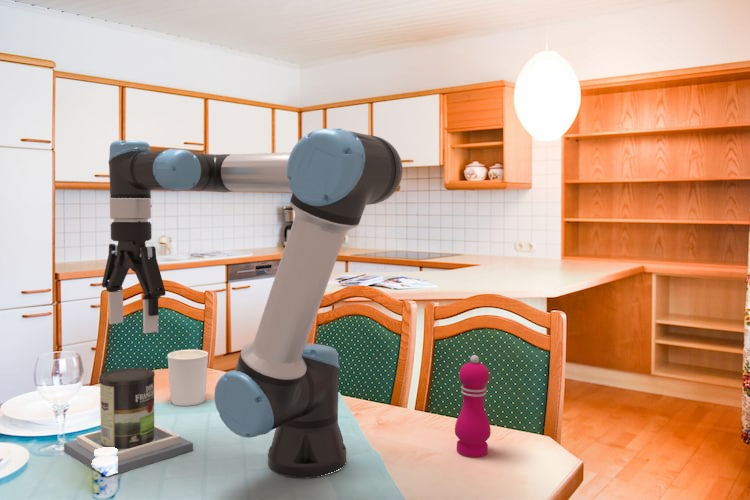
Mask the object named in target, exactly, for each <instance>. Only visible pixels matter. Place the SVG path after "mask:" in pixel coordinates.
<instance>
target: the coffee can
mask: <svg viewBox="0 0 750 500" xmlns="http://www.w3.org/2000/svg"><path fill="white" fill-rule="evenodd" d="M98 377H99V385H100V386H99V387H100V388H99V389H100V392H99V395H100V402H99V403H100V430H101V446H102V447H115V448H117V449H118V452H119V451H122V450H126V449H129V448H133V447H136V446H140V445H143V444H147V443H150V442H154V441H155V438H154V424H155V371H154V370H152V369H149V368H144V367H143V368H141V367H129V368H118V369H113V370H109V371H105V372H103V373H101V374H100V375H99V376H98Z"/></svg>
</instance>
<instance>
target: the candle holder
mask: <svg viewBox="0 0 750 500" xmlns="http://www.w3.org/2000/svg"><path fill="white" fill-rule="evenodd" d="M166 357H167V364H168V379H169V380H168V381H169V393H170V403H171V404H172V405H174V406H180V407H188V406H189V407H190V406H196V405H200V404H203V403H204V402H205V400H206V396H207V395H206V394H207V381H208V380H207V379H208V360H209V352H208V351H205V350H201V349H183V350H182V349H181V350H175V351H171V352H169V353H167V355H166Z"/></svg>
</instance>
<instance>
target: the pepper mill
mask: <svg viewBox="0 0 750 500" xmlns="http://www.w3.org/2000/svg"><path fill="white" fill-rule="evenodd" d="M469 360H470V362H467V363H465V364H463V365H462V366H461V368H460V370H459V375H458V376H459V380H460V382H461V383H462V385H461V387H460V388H461V394H462V397H463V399H462V400H463V401H462V406H461V411H460V413H459V415H458V417H457V419H456V422H455V425H454V426H455V427H454V435H455V436H456V437H457V438H458V440H457V441H456V452H457V453H458V454H459V455H461V456H463V457H467V458H480V457H481V458H482V457H484V456H486V455H487V454H488V452H489V448H488V447H489V444H488V442H487V440H488V439H489V438H490V436H491V433H492V432H491V425H490V421H489V418H488V417H487V413H486V411H485V410H486V409H485V406H484V405H485V404H484V403H485V401H484V400H485V395H487V391H486V390H487V386H486V385H487V384H488V382H489V380H490V372H489V370H488V368H487V366H486V365H484V364H483V363H480V362H479V361H480V358H479V356H478V355H476V354H473V355H471V356H470V357H469Z"/></svg>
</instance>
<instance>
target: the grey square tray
mask: <svg viewBox="0 0 750 500" xmlns="http://www.w3.org/2000/svg"><path fill="white" fill-rule="evenodd" d="M154 438H155V441H154V442H150V443H147V444H143V445H140V446H136V447H133V448H129V449H126V450H122V451H119V452H117V456H118V474H122V473H125V472H128V471H131V470H134V469H138V468H140V467H145V466H147V465H151V464H154V463H157V462H160V461H162V460H167V459H170V458H172V457H176V456H180V455H183V454H186V453H189V452H192V451H194V442H192V441H189V440H187V439H185V438H183V437H182V436H181V435H180V434H177V433H176V432H173V431H171V430H169V429H167V428H165V427H163V426H160V425H158V424H156V423H154ZM98 448H102V446H101V429H100V430H99V429H98V430H96V431H92V432H89V433H88V432H87V433H83V434H80V435H77V436H76V440H73V441H69V442H64V443H63V451H64V452H66V454H68V455H70V456H72V457H73V458H74V459H76V460H78V461H79V462H82V463H83V464H85V465H86V466H87V467H89V468H91V469H92V465H91V463H92V460H93V459H94V458H95V456H94V450H95V449H98ZM118 474H117V475H118Z"/></svg>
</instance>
